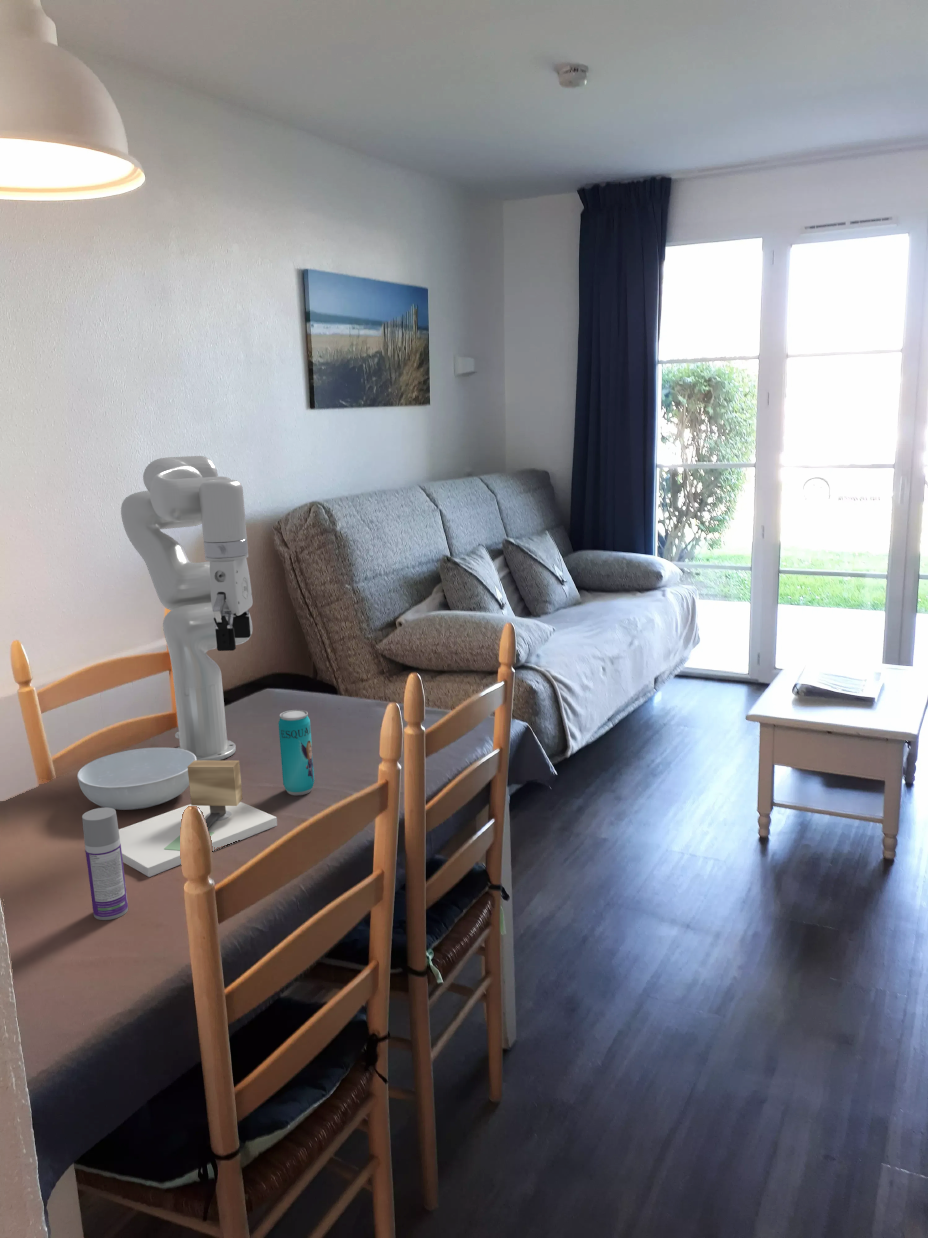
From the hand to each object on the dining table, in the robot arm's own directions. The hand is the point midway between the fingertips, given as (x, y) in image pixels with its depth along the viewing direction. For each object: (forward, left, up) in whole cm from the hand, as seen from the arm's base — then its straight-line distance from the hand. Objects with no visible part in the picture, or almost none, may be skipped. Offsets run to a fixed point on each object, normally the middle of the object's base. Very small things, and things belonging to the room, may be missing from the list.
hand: (234, 643), depth 175 cm
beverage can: (+8, +6, -28) cm, 30 cm away
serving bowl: (-12, -15, -29) cm, 34 cm away
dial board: (+9, -18, -28) cm, 35 cm away
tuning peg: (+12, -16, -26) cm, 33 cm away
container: (+23, -39, -28) cm, 54 cm away
